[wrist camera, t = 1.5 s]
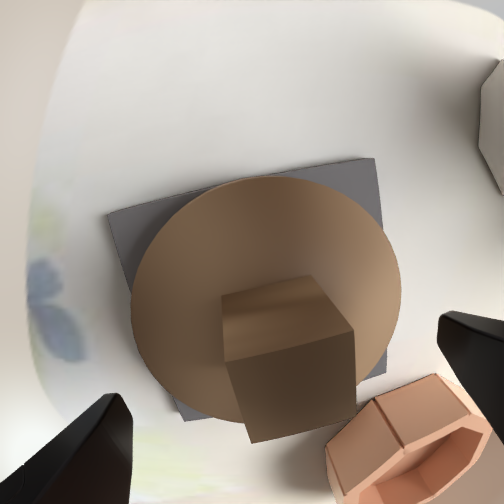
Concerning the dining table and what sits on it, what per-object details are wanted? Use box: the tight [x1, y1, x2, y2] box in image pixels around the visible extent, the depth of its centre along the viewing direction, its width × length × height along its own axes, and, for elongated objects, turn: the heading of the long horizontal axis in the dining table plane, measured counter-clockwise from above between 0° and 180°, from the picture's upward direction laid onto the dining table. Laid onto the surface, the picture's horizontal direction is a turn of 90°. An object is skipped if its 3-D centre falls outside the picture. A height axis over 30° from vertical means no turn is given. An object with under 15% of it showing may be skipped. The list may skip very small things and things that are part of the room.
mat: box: [107, 158, 387, 422], centre depth 11 cm, size 9×9×1 cm
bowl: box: [325, 374, 493, 504], centre depth 13 cm, size 9×9×4 cm
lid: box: [131, 176, 401, 444], centre depth 9 cm, size 9×9×4 cm
